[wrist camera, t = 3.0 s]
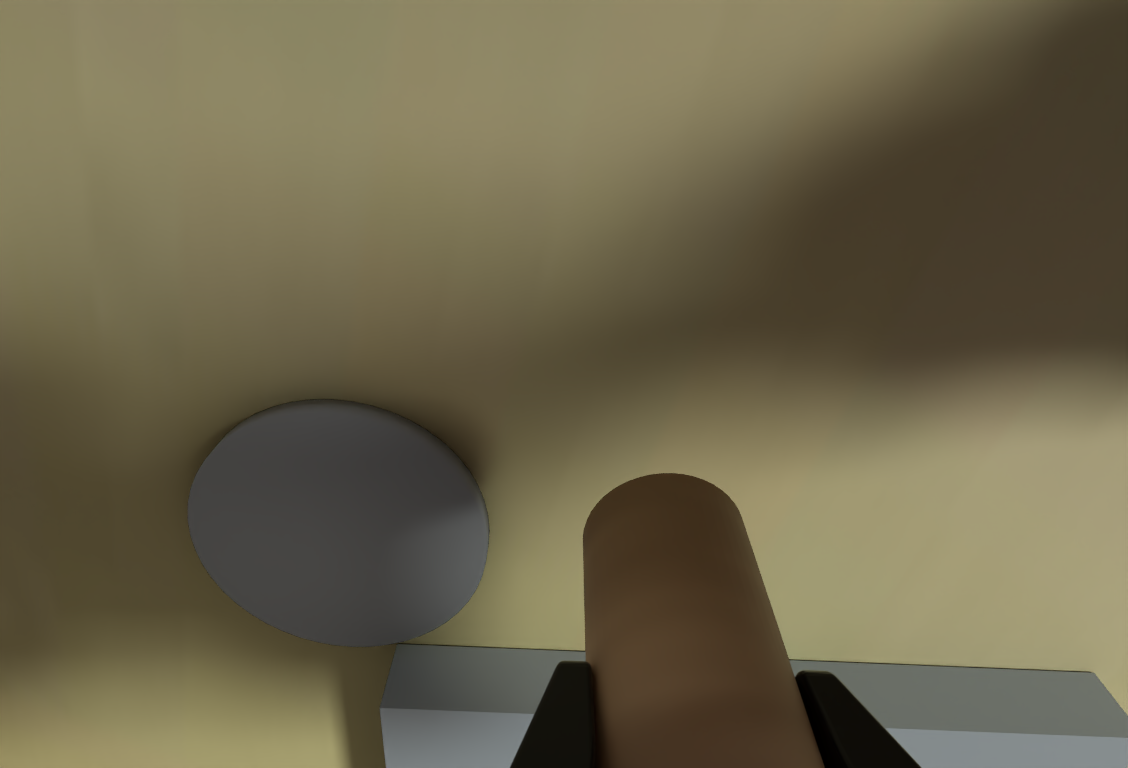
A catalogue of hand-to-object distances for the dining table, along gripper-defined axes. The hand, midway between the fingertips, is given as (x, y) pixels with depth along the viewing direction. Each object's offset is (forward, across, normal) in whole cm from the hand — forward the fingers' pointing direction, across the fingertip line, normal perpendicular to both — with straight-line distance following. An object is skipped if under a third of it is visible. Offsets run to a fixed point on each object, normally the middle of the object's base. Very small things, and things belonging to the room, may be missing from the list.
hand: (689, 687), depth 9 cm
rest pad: (+8, +7, +4) cm, 11 cm away
